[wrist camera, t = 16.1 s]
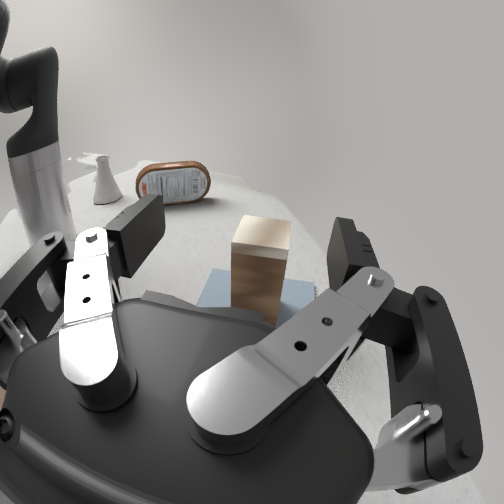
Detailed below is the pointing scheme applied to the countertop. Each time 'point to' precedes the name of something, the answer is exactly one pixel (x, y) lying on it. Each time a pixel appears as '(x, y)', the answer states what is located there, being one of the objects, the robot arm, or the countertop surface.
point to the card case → (259, 265)
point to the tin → (174, 181)
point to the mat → (290, 303)
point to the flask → (105, 183)
